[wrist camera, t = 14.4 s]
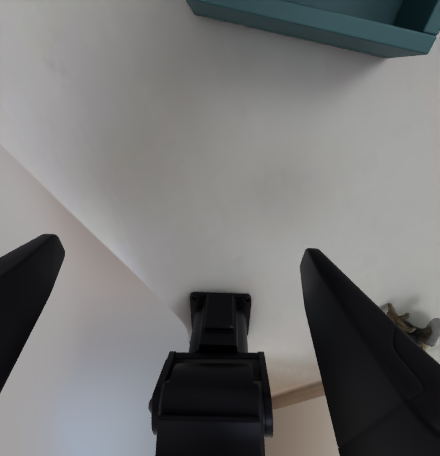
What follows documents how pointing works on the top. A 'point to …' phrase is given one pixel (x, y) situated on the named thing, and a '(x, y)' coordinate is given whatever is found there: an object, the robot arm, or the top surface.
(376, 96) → the top surface
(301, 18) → the tote
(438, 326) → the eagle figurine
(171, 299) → the top surface
